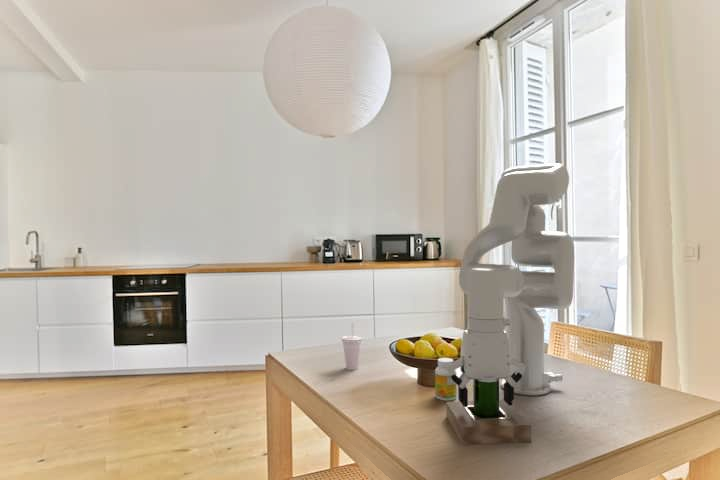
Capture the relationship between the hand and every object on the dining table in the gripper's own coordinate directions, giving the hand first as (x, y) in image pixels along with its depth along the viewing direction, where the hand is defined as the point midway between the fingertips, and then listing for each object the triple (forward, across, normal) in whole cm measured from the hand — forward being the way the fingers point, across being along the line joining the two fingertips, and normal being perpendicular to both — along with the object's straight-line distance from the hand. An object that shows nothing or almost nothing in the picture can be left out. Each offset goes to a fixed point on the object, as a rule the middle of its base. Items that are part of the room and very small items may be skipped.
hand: (486, 404), depth 103 cm
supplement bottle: (+6, +4, -20) cm, 21 cm away
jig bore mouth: (+2, 0, 0) cm, 2 cm away
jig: (+5, 0, 0) cm, 5 cm away
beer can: (+6, 0, 0) cm, 6 cm away
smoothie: (+6, +27, -48) cm, 55 cm away
